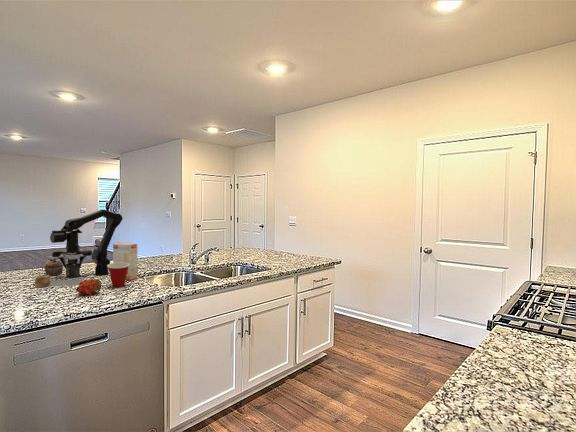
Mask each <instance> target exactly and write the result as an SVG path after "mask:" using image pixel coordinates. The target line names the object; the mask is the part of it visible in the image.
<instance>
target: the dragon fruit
mask: <svg viewBox="0 0 576 432" xmlns="http://www.w3.org/2000/svg"><path fill="white" fill-rule="evenodd" d="M101 288H102V282H101V281H100V280H99V279H97V278H95V279H94V278H91V277H90V278H89V279H84V280H83V281H82V282H80V284H79V285H77V287H76V288H75V292H78V293H77V294H78V295H79V296H86V295H89V296H91V295H95V294H96V292H97V291H101Z"/></svg>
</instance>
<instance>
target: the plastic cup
mask: <svg viewBox="0 0 576 432" xmlns="http://www.w3.org/2000/svg"><path fill="white" fill-rule="evenodd" d="M128 266H129V263H124V262H118V263H113V262H112V263H111V262H110V264H108V265H107V267H108V272H109V276H110V280H111V286H112V288H122V287H125V285H126V275H127V270H128Z"/></svg>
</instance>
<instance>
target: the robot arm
mask: <svg viewBox="0 0 576 432" xmlns="http://www.w3.org/2000/svg"><path fill="white" fill-rule="evenodd" d="M100 218H105V219H107V227H106V228H105V232H104V234H103V236H102V239H101V241H100V244H99V246H98V247H97V248H96V249H95V248H94V249H93V250H92V249H84V250H82V251H81V246H80V245H79V234H82V233H83V231H81V230H80V228H82V227H83V226H84V225H85V224H88V223H90V222H92V221H95V220H98V219H100ZM123 219H124V218H123V215H122V214H121V213H117V212H116V213H115V212H112V211H109V210H106V209H103V208H102V209H99V210H97V211H95V212H92V213H89V214H87V215H84V216H81V217H76V218H71V219H66V221H65V223H64V224H63V227H62V228H61V229H60V230H51V233H50V236H49V239H50V242H51V244H55V243H64V242H65V241H66V245H65V250H66V251H63V250H54V251H52V254H51V256H52V258H56V259H58V260H60V262H61V263H62V265H63V269H65V270H66V264H67V260H66V256H76V255H77V256H78V255H80V256H79V260H78V263H79V268H81V267H82V265H83V261H84V259H85V258H86V257H87V256H88V257H89V256H91V260H92V261H93V262H94V264H95V268H94V269H95V276H107V275H109V274H110V272H109V269H108V267H107V265H108V264H111V260H109V259H108V258H107V257H108V248H109V245H110V243H111V241H112V238H113V236H114V233H115V231H116V228H118V226H120V224H121V222H122V221H123Z"/></svg>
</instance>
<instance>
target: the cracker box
mask: <svg viewBox="0 0 576 432" xmlns="http://www.w3.org/2000/svg"><path fill="white" fill-rule="evenodd" d="M112 246H113V247H112V249H113V251H112V253H113V255H112V257H113V258H112V259H113V260H112V261H113V262H112V263H118V262H124V263H129V266H128V270H127V275H126V280H127V281H132V280H136V279H138V244H137V243H130V242H129V243H128V242H114V243H113V245H112ZM126 280H125V281H126Z"/></svg>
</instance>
